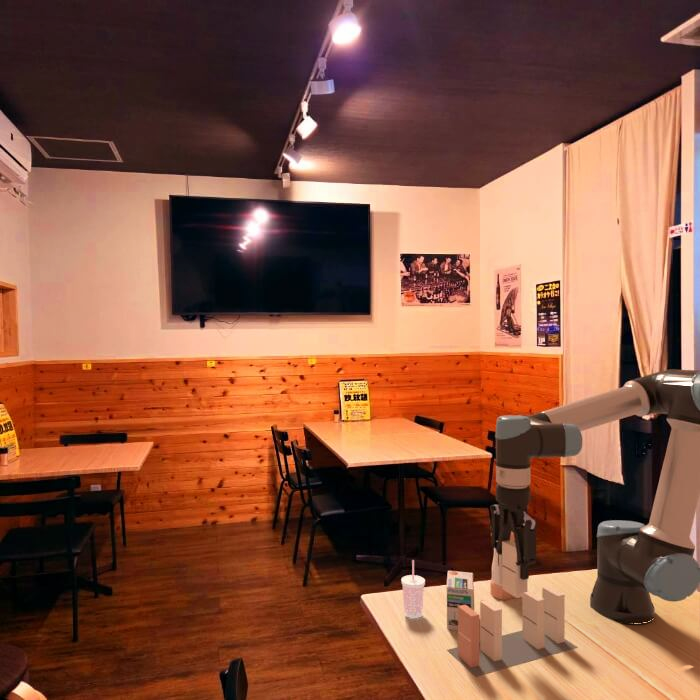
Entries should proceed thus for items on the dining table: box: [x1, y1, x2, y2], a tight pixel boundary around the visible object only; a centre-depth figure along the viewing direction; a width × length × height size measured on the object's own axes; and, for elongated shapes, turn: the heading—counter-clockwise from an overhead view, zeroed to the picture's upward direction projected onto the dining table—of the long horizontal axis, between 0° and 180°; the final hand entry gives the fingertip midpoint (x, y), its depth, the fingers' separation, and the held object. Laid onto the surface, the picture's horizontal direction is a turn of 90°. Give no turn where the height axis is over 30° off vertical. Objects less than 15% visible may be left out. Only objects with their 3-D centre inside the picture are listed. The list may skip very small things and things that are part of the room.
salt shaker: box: [490, 531, 517, 601], centre depth 154 cm, size 7×7×19 cm
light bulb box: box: [446, 570, 475, 631], centre depth 139 cm, size 11×7×11 cm, turn 168°
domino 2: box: [479, 599, 503, 661], centre depth 123 cm, size 2×5×11 cm, turn 24°
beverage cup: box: [400, 559, 426, 619], centre depth 143 cm, size 6×6×14 cm
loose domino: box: [502, 540, 524, 599], centre depth 125 cm, size 2×5×11 cm, turn 24°
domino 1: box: [457, 605, 480, 668], centre depth 121 cm, size 2×5×11 cm, turn 23°
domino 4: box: [541, 585, 566, 643], centre depth 130 cm, size 2×5×11 cm, turn 23°
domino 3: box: [521, 590, 544, 649], centre depth 128 cm, size 2×5×11 cm, turn 24°
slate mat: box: [446, 630, 578, 677], centre depth 126 cm, size 28×11×1 cm, turn 113°
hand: (512, 586), depth 125 cm, fingers closed on loose domino, 5 cm apart
